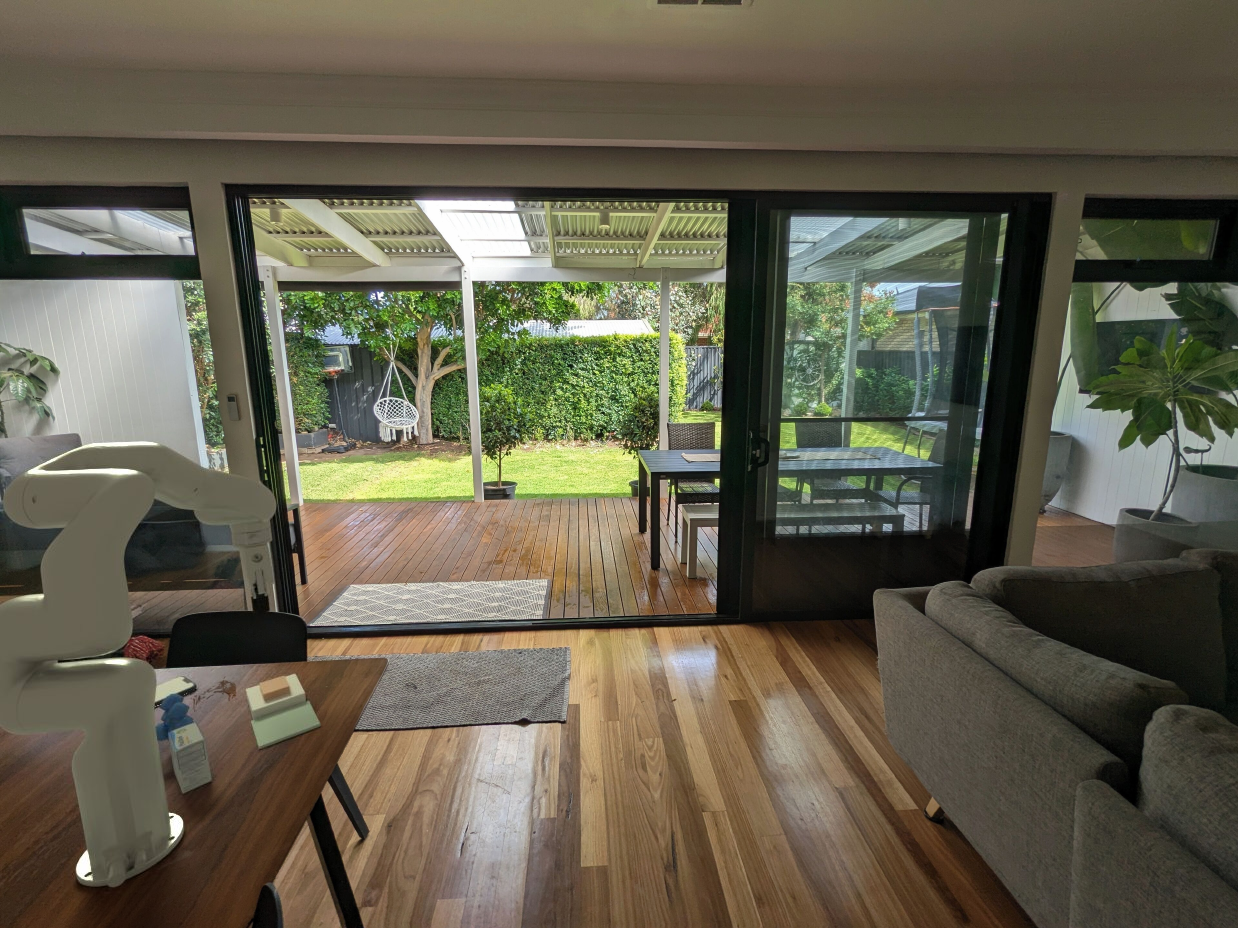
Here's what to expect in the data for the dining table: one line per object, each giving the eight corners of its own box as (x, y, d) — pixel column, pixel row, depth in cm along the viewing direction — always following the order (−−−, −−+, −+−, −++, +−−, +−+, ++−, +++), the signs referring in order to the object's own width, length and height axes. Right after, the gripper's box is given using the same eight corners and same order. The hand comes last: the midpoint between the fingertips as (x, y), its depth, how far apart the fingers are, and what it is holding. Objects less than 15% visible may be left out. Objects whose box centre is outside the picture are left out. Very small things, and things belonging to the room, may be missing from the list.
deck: (306, 702, 123) (305, 692, 123) (253, 721, 117) (252, 710, 116) (296, 682, 131) (295, 673, 131) (246, 698, 125) (245, 688, 125)
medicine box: (212, 781, 99) (206, 738, 98) (181, 795, 96) (174, 751, 95) (203, 761, 105) (197, 720, 103) (173, 773, 101) (167, 731, 100)
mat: (320, 725, 115) (320, 723, 115) (259, 749, 108) (258, 746, 108) (309, 703, 123) (308, 700, 123) (251, 723, 116) (250, 720, 116)
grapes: (146, 752, 107) (136, 696, 105) (187, 734, 113) (179, 681, 111) (164, 777, 100) (154, 718, 99) (208, 756, 106) (199, 700, 104)
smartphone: (111, 728, 116) (199, 690, 129) (110, 721, 116) (198, 684, 129) (97, 715, 121) (183, 680, 134) (96, 709, 120) (182, 674, 134)
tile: (290, 692, 123) (289, 685, 123) (264, 700, 120) (263, 694, 120) (285, 681, 128) (284, 675, 127) (260, 689, 124) (259, 683, 124)
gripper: (276, 540, 121) (285, 617, 124) (266, 526, 132) (274, 598, 135) (236, 547, 116) (246, 627, 119) (228, 532, 128) (238, 606, 131)
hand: (261, 611), depth 127 cm, fingers closed
